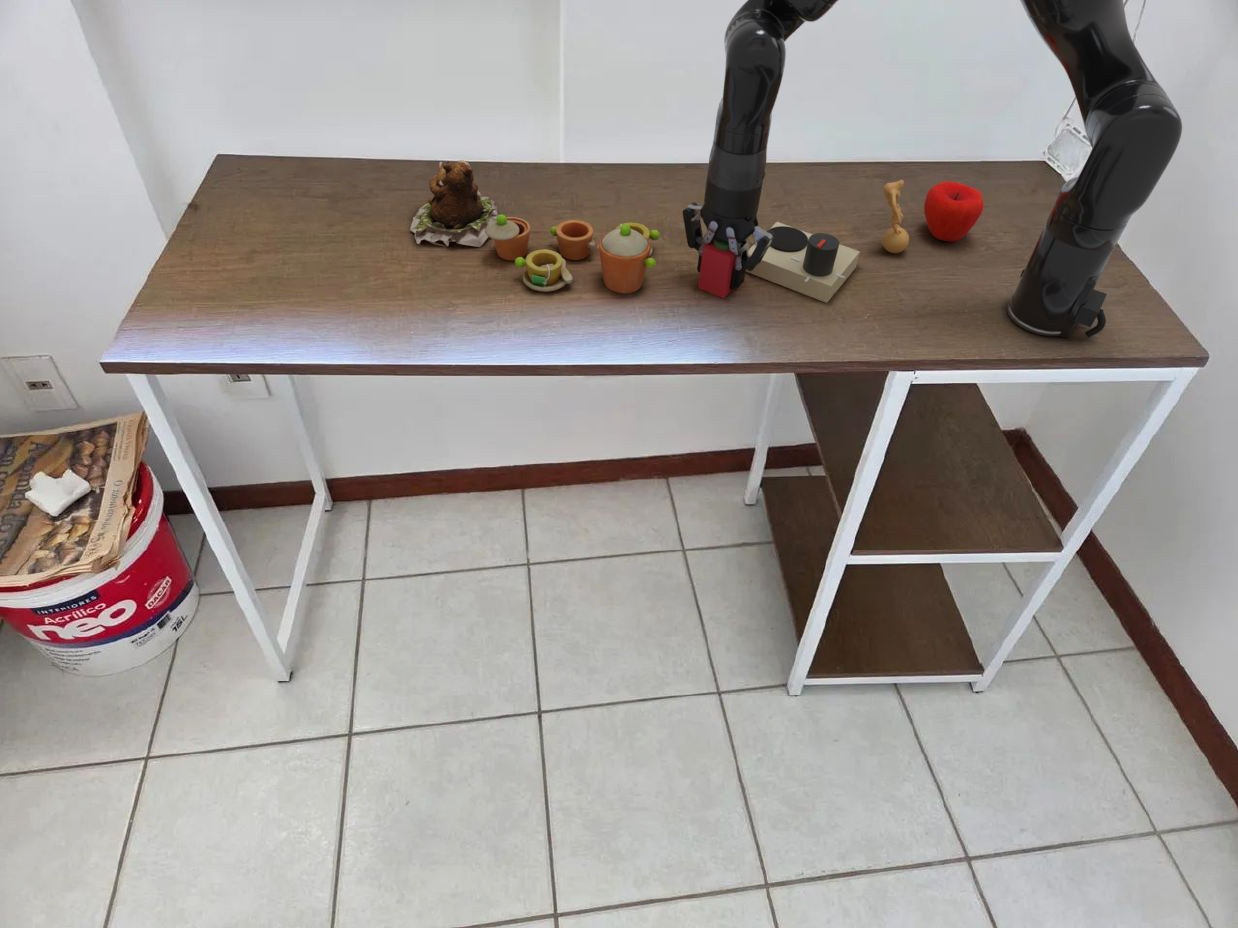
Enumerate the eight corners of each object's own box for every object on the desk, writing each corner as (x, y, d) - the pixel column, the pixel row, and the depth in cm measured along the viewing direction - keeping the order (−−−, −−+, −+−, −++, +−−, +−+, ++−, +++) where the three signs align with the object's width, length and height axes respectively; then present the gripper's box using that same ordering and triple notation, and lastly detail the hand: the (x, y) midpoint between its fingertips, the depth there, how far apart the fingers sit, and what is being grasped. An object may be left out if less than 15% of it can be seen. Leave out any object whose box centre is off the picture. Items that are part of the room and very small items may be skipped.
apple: (905, 224, 143) (918, 180, 138) (951, 217, 146) (966, 173, 140) (934, 254, 138) (950, 209, 132) (981, 246, 140) (999, 202, 134)
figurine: (908, 267, 135) (932, 196, 126) (869, 264, 135) (890, 193, 126) (901, 237, 141) (923, 168, 132) (863, 234, 141) (883, 165, 132)
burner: (814, 237, 134) (815, 235, 134) (796, 257, 130) (797, 255, 130) (776, 223, 136) (776, 221, 136) (757, 242, 132) (757, 240, 132)
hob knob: (809, 256, 130) (816, 227, 127) (837, 265, 129) (844, 237, 125) (797, 269, 128) (804, 241, 124) (825, 280, 126) (832, 251, 123)
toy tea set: (656, 239, 137) (660, 183, 130) (664, 298, 127) (669, 241, 120) (489, 237, 136) (484, 180, 129) (483, 297, 125) (478, 238, 118)
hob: (860, 270, 134) (865, 252, 132) (828, 309, 127) (833, 291, 124) (773, 238, 139) (777, 220, 137) (737, 274, 132) (740, 256, 129)
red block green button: (739, 282, 130) (747, 237, 125) (723, 298, 127) (731, 252, 122) (713, 272, 132) (720, 226, 126) (697, 288, 129) (703, 242, 123)
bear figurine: (507, 202, 143) (503, 130, 134) (489, 253, 133) (483, 179, 124) (425, 194, 144) (416, 123, 135) (401, 244, 133) (389, 171, 125)
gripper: (675, 169, 117) (665, 276, 129) (771, 203, 112) (751, 311, 124) (702, 147, 121) (690, 253, 134) (796, 179, 116) (774, 286, 129)
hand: (719, 280), depth 129 cm, fingers closed on red block green button, 4 cm apart
